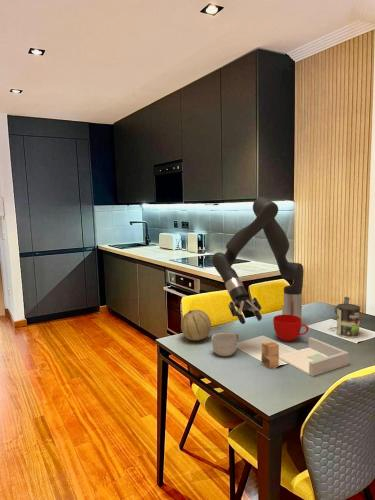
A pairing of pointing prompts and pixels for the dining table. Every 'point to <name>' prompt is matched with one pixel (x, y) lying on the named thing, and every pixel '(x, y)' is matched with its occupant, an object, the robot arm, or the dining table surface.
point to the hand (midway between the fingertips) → (252, 321)
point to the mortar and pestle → (346, 301)
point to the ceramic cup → (288, 327)
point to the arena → (317, 358)
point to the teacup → (225, 343)
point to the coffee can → (348, 320)
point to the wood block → (270, 354)
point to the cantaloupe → (196, 325)
